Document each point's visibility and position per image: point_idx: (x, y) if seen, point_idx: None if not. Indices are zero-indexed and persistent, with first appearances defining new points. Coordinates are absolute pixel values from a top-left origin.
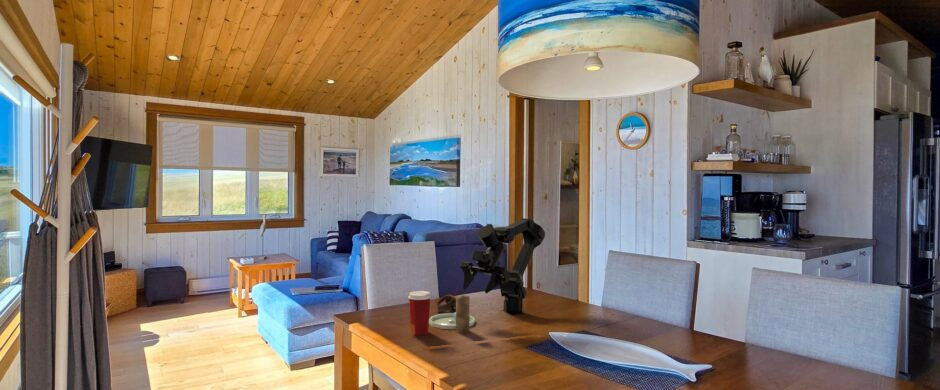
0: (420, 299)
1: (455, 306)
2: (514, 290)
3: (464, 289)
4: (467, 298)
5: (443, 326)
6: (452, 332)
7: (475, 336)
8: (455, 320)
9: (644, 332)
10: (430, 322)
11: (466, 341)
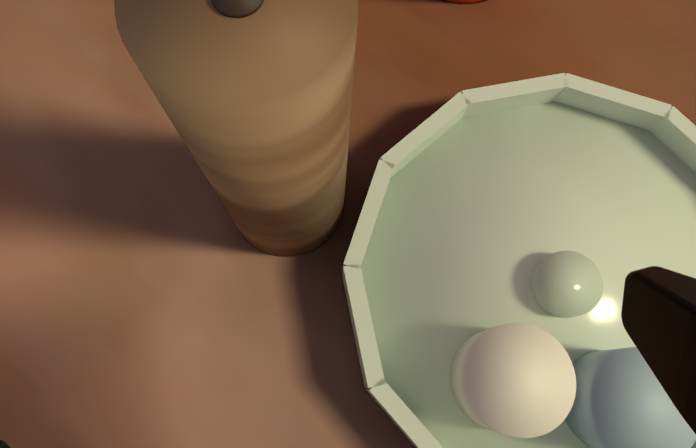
0: None
1: None
2: None
3: (624, 300)
4: (118, 10)
5: (445, 107)
6: (366, 159)
7: (159, 237)
8: (597, 351)
9: None
10: (610, 93)
11: (119, 107)
